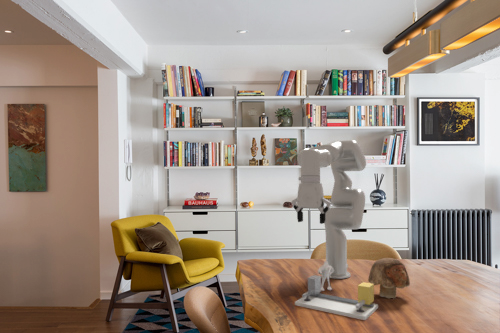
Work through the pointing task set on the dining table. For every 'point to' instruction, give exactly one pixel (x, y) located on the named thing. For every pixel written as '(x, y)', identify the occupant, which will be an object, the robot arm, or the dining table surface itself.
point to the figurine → (325, 274)
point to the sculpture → (389, 276)
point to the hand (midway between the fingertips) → (311, 222)
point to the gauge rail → (315, 290)
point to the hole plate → (336, 307)
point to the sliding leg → (365, 294)
